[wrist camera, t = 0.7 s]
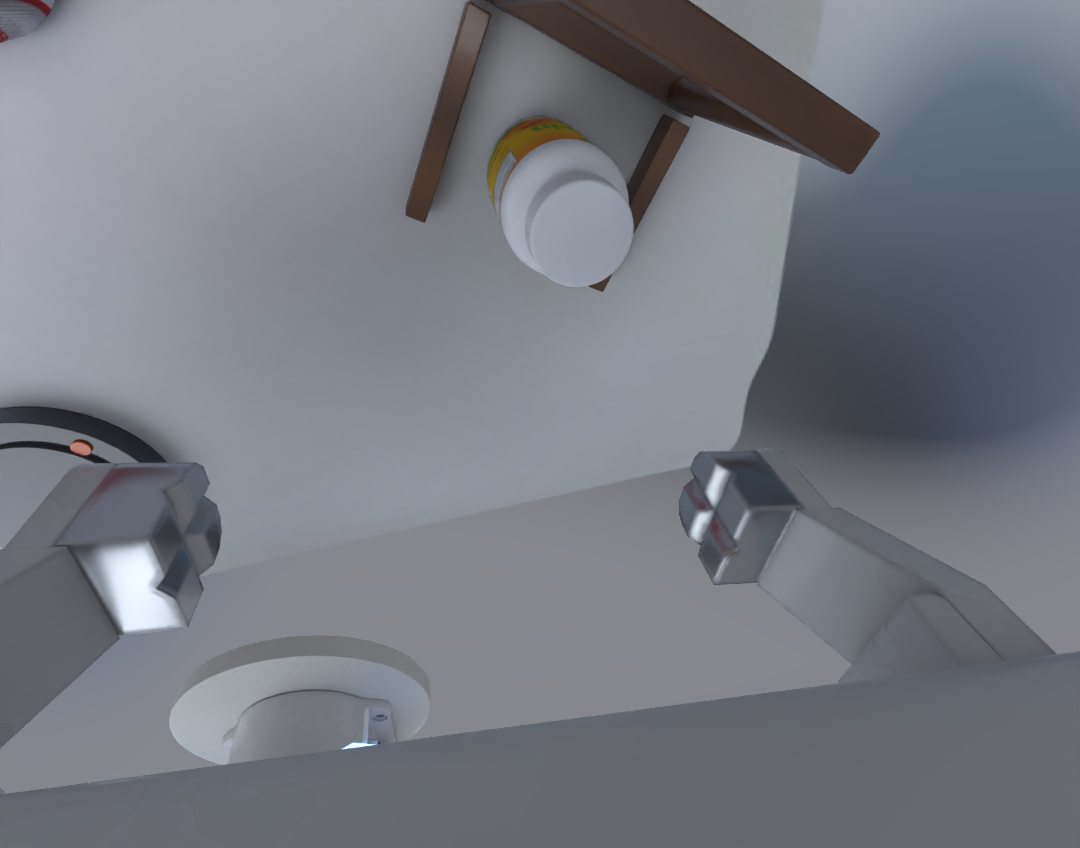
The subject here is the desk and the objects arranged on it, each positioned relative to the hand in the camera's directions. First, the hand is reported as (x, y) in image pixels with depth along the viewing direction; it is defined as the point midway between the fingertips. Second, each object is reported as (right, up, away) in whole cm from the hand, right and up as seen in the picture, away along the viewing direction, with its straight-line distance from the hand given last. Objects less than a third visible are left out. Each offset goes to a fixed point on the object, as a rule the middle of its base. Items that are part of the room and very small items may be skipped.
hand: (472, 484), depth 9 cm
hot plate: (-29, -3, +24) cm, 38 cm away
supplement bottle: (+1, +14, +18) cm, 23 cm away
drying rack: (+2, +15, +17) cm, 23 cm away
